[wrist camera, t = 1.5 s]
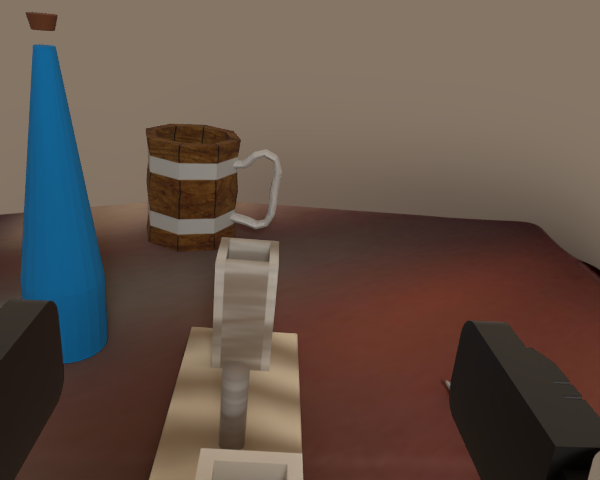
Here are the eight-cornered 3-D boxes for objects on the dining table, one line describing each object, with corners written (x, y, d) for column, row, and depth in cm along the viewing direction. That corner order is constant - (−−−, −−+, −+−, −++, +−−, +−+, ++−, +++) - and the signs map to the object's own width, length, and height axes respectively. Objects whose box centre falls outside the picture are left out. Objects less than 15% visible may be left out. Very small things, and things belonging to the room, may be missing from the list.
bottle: (120, 328, 58) (105, 17, 46) (85, 369, 51) (57, 18, 39) (55, 317, 58) (23, 9, 47) (11, 356, 52) (-38, 8, 40)
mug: (129, 245, 76) (126, 139, 70) (161, 212, 89) (161, 119, 83) (269, 263, 75) (277, 157, 70) (281, 227, 88) (289, 134, 82)
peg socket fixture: (301, 500, 40) (320, 361, 35) (148, 492, 39) (146, 350, 34) (296, 343, 58) (307, 238, 53) (191, 336, 58) (194, 229, 53)
